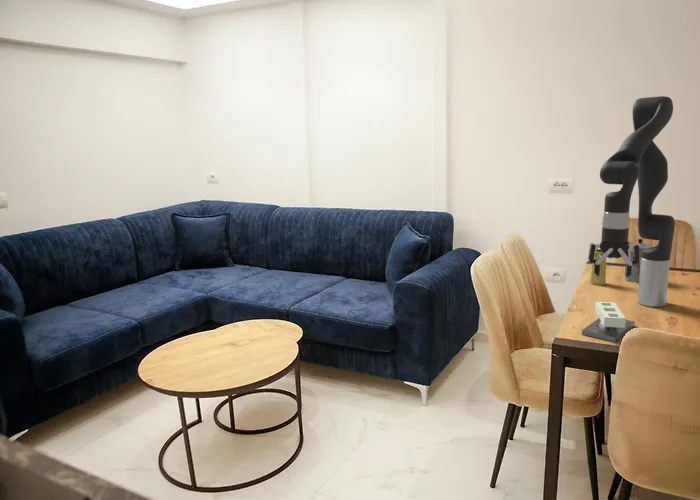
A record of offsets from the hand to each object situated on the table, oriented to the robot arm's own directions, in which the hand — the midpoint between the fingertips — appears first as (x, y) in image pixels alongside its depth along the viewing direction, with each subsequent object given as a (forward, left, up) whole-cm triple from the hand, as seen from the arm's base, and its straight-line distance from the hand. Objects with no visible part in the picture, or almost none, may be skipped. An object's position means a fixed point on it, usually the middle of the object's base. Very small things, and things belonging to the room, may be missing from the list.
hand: (612, 276), depth 169 cm
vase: (-52, -23, -19) cm, 60 cm away
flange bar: (0, 0, -14) cm, 14 cm away
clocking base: (0, 0, -18) cm, 18 cm away
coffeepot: (-67, -13, -19) cm, 71 cm away
